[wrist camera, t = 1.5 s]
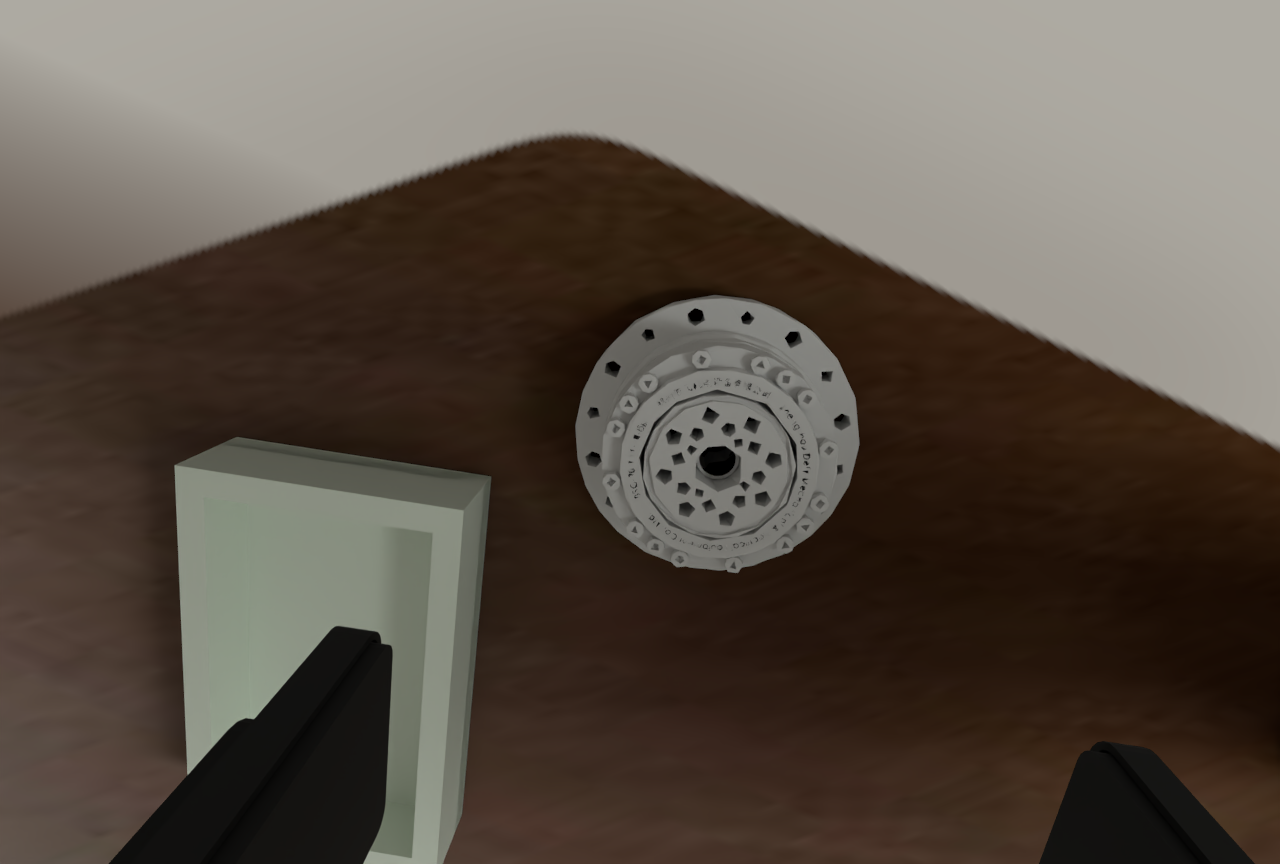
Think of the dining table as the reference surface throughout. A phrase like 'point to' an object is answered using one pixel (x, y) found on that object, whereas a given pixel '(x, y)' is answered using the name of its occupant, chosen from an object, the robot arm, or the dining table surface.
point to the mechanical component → (717, 433)
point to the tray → (337, 605)
